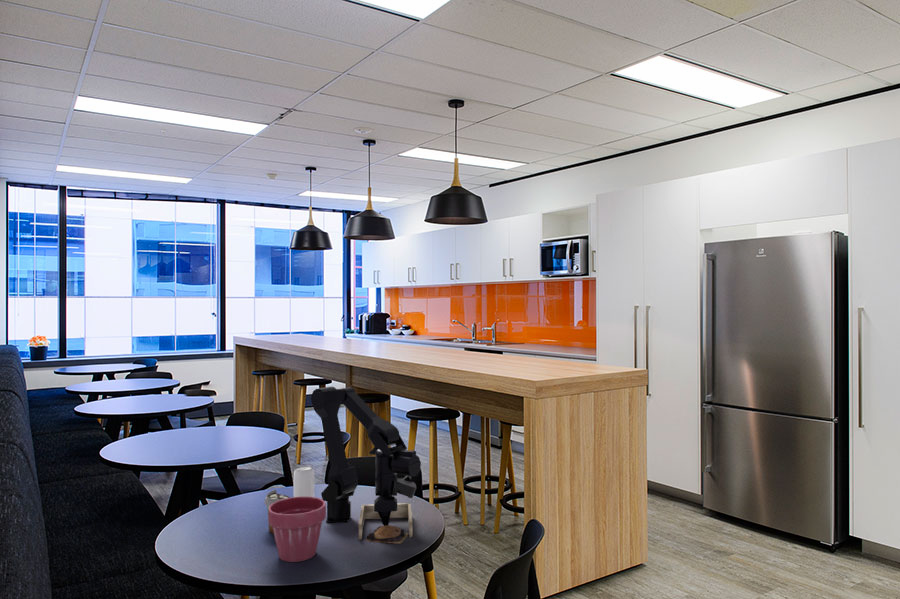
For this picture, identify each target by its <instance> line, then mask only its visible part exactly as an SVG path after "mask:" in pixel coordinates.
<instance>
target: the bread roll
mask: <svg viewBox="0 0 900 599" xmlns="http://www.w3.org/2000/svg"><path fill="white" fill-rule="evenodd" d="M408 537H409V532H405V529H404V528H401V529H400V527H397V526H394V525H389V524H388V525H385V526H384V525H379V526H378V527H376V529H374V531H372V532H370V533H369V534H368V535H366V536H365V538H366V539H365V541H367V542H374V543H386V544H387V543H388V544H398V545H399V544H402V543H403V542H404V541H405V540H406V539H407V538H408Z"/></svg>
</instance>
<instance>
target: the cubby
mask: <svg viewBox="0 0 900 599" xmlns="http://www.w3.org/2000/svg"><path fill="white" fill-rule="evenodd" d="M360 508H361V509H360V515H359V520H358V540H362V538H363V532H364V526H365V524H364V523H365V520H376V519H378V520H379V519H380V520H381V518H380V516H379V514H378V512H375V511H374V504H361V507H360ZM405 518H406V519H408V520H407V521H408V533H409V535H408V537H409V538H413V513H412V504H411V503H410V502H409V503H408V502H407V503H404V502H403V503H397V511H391V514H390V519H405Z"/></svg>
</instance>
